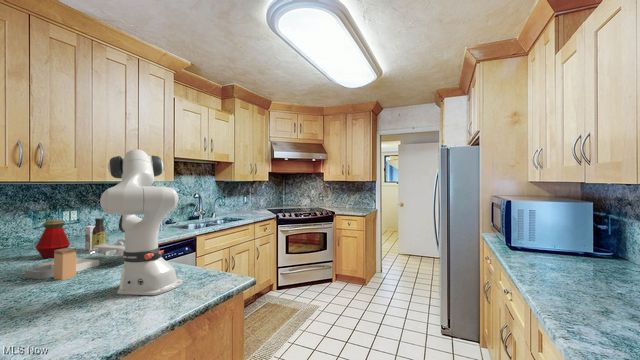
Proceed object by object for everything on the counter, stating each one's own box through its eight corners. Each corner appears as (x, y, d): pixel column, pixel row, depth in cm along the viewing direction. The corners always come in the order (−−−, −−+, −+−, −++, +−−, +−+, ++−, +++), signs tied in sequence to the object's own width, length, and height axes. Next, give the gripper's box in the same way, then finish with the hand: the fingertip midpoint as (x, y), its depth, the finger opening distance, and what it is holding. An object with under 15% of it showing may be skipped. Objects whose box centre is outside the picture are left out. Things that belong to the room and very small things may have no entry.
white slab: (99, 265, 135) (99, 259, 135) (45, 280, 114) (45, 272, 114) (69, 262, 140) (69, 256, 140) (13, 275, 119) (13, 269, 119)
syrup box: (101, 248, 169) (101, 225, 169) (89, 250, 164) (90, 226, 164) (95, 247, 172) (96, 224, 172) (84, 249, 166) (84, 226, 166)
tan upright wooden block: (75, 276, 119) (76, 248, 119) (62, 279, 114) (62, 251, 114) (67, 275, 120) (67, 247, 120) (53, 278, 115) (54, 250, 116)
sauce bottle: (97, 253, 157) (97, 218, 158) (88, 253, 159) (88, 218, 159) (108, 250, 164) (108, 217, 164) (99, 250, 165) (99, 217, 165)
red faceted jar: (28, 258, 148) (29, 221, 148) (60, 252, 161) (60, 218, 161) (44, 261, 142) (45, 222, 142) (76, 254, 155) (76, 219, 155)
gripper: (109, 239, 146) (81, 245, 133) (140, 241, 141) (113, 247, 127) (109, 251, 146) (80, 258, 133) (139, 253, 141) (113, 261, 127)
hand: (97, 253), depth 130 cm, fingers open, 8 cm apart
